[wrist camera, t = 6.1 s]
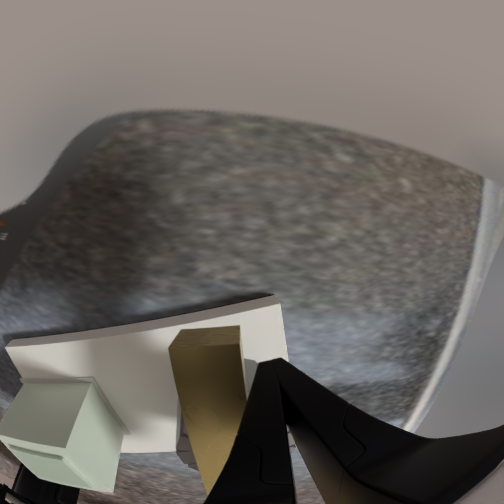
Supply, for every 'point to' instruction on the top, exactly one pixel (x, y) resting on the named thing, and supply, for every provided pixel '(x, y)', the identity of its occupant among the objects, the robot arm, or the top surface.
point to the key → (210, 392)
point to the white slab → (147, 368)
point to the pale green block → (64, 434)
